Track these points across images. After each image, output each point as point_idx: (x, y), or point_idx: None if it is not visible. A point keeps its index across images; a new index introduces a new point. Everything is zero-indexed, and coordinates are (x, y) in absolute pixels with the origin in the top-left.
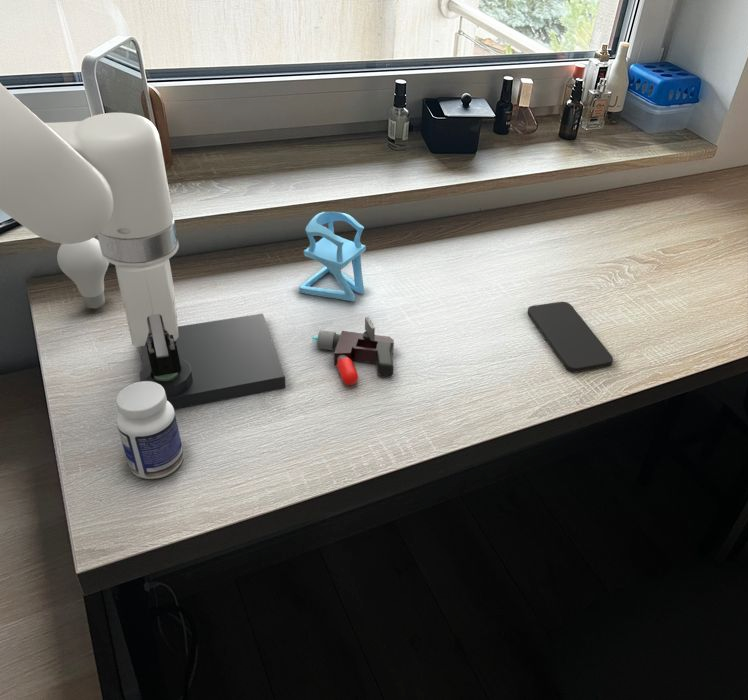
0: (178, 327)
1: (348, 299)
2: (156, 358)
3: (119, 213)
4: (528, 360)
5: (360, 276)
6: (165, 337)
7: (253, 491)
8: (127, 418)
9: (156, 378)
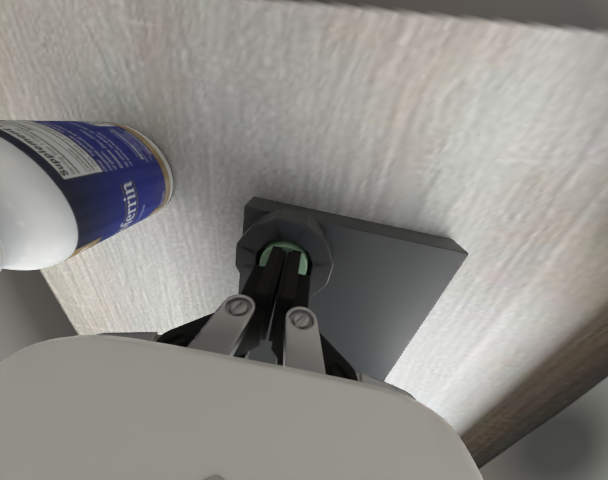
0: (427, 309)
1: None
2: (243, 290)
3: None
4: None
5: None
6: (273, 347)
7: (65, 260)
8: None
9: (272, 245)
